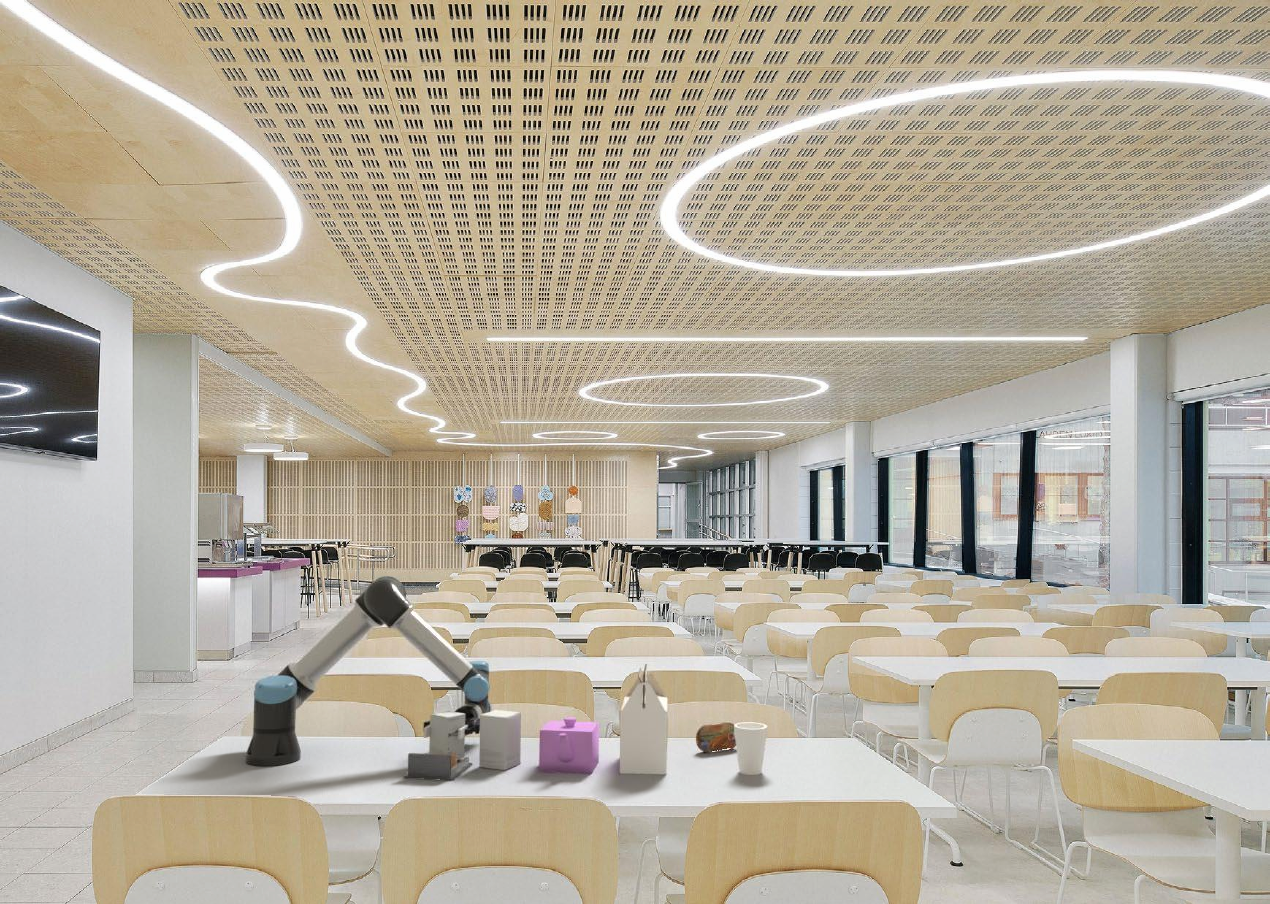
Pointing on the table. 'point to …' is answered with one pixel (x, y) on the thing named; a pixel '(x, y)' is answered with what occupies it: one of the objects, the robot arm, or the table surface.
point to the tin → (716, 737)
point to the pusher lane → (435, 766)
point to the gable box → (644, 728)
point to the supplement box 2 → (500, 739)
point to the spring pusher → (453, 759)
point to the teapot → (569, 746)
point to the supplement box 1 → (446, 733)
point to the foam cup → (750, 746)
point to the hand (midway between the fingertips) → (442, 733)
